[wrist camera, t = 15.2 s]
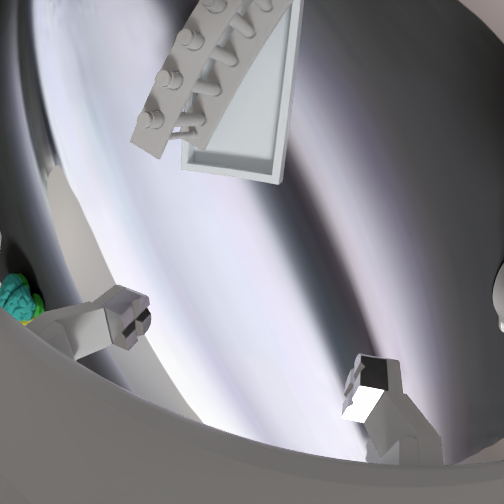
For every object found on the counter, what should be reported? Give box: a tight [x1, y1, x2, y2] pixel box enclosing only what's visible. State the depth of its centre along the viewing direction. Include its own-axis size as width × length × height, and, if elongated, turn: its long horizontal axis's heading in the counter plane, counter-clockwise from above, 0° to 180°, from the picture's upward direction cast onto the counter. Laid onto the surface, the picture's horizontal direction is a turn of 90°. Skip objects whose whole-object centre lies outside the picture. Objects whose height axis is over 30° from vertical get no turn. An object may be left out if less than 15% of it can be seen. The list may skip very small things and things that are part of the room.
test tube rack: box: [130, 0, 294, 159], centre depth 26 cm, size 25×4×13 cm, turn 151°
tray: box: [181, 0, 304, 185], centre depth 32 cm, size 14×33×2 cm, turn 174°
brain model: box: [0, 274, 45, 326], centre depth 67 cm, size 24×19×15 cm
